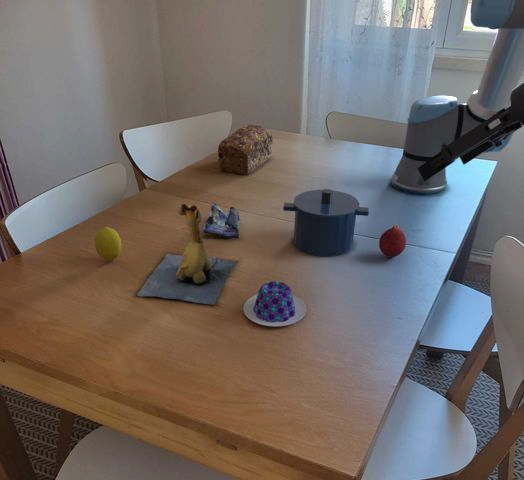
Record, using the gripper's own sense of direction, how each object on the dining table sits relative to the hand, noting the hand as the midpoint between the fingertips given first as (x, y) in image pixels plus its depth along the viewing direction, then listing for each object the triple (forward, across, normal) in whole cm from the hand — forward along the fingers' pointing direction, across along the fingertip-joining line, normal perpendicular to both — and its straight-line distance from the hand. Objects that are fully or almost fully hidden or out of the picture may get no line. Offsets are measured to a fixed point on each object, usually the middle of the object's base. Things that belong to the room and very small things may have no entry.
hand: (442, 166), depth 104 cm
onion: (+22, 0, -10) cm, 24 cm away
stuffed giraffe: (+38, -38, +6) cm, 54 cm away
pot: (+33, -5, 0) cm, 33 cm away
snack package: (+47, -18, +15) cm, 53 cm away
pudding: (+24, -34, -9) cm, 42 cm away
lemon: (+51, -46, +18) cm, 71 cm away
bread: (+69, +17, +37) cm, 81 cm away
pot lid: (+26, -5, +7) cm, 27 cm away
